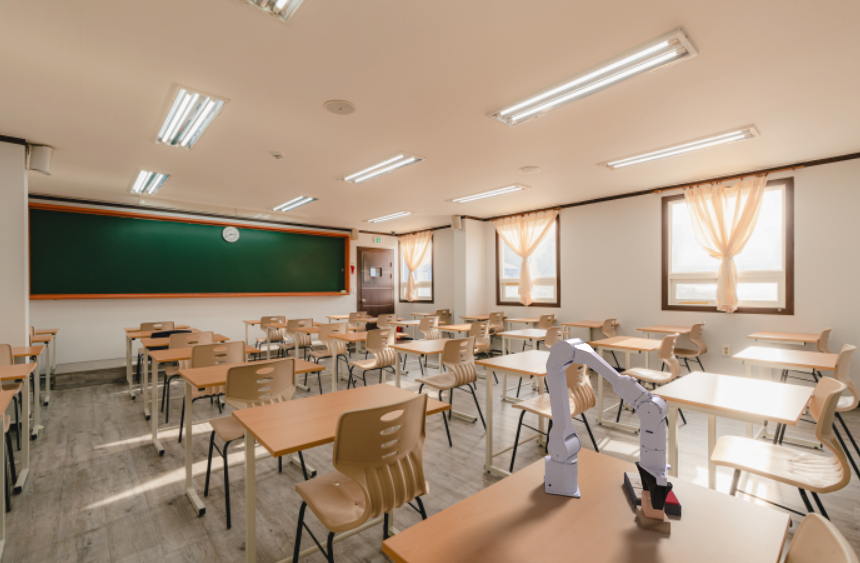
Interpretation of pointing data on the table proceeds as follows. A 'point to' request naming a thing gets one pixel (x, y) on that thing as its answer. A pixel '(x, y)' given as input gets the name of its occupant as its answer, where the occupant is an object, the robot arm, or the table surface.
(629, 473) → the calculator
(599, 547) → the table surface
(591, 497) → the table surface
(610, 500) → the table surface
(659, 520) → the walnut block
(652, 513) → the terracotta block
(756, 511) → the table surface
